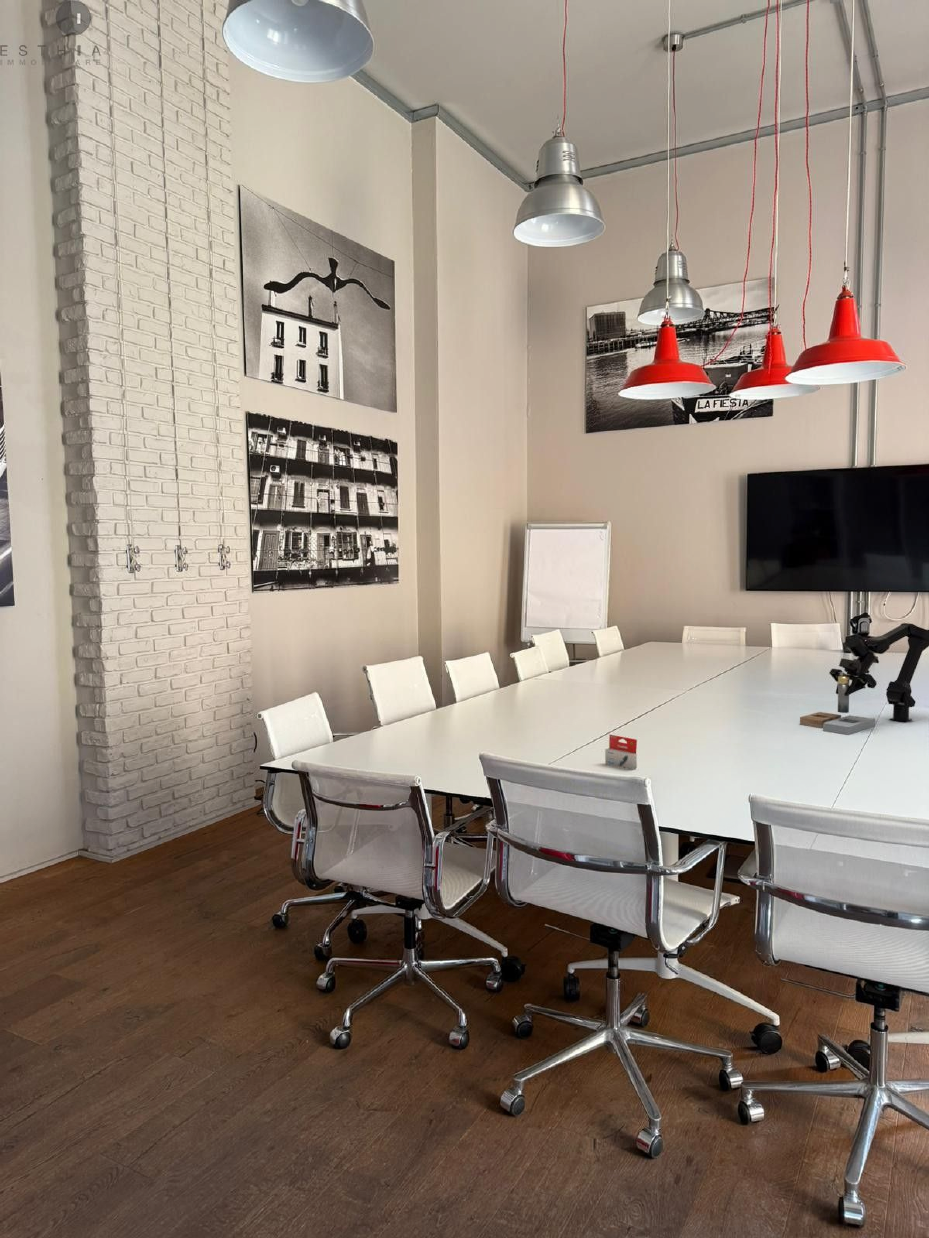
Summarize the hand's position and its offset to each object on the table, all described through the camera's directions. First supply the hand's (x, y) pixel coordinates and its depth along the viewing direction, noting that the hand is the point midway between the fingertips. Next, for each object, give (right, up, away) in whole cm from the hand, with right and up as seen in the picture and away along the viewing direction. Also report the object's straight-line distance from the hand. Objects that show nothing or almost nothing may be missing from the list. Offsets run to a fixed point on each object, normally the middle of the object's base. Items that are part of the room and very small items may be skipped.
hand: (840, 694), depth 321 cm
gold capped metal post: (+1, -7, +1) cm, 7 cm away
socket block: (-4, -13, +10) cm, 16 cm away
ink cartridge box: (-96, -19, -51) cm, 111 cm away
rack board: (+3, -13, 0) cm, 14 cm away
